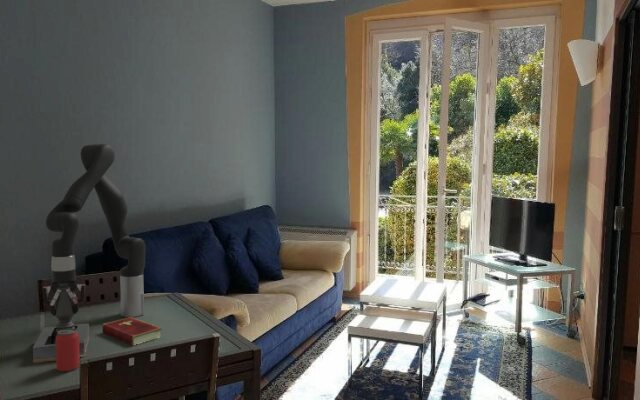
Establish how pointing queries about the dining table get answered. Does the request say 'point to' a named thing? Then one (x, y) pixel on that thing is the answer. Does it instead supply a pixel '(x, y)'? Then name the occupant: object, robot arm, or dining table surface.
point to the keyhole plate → (47, 343)
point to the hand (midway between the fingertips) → (64, 314)
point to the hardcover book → (131, 330)
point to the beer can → (67, 350)
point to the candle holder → (64, 308)
